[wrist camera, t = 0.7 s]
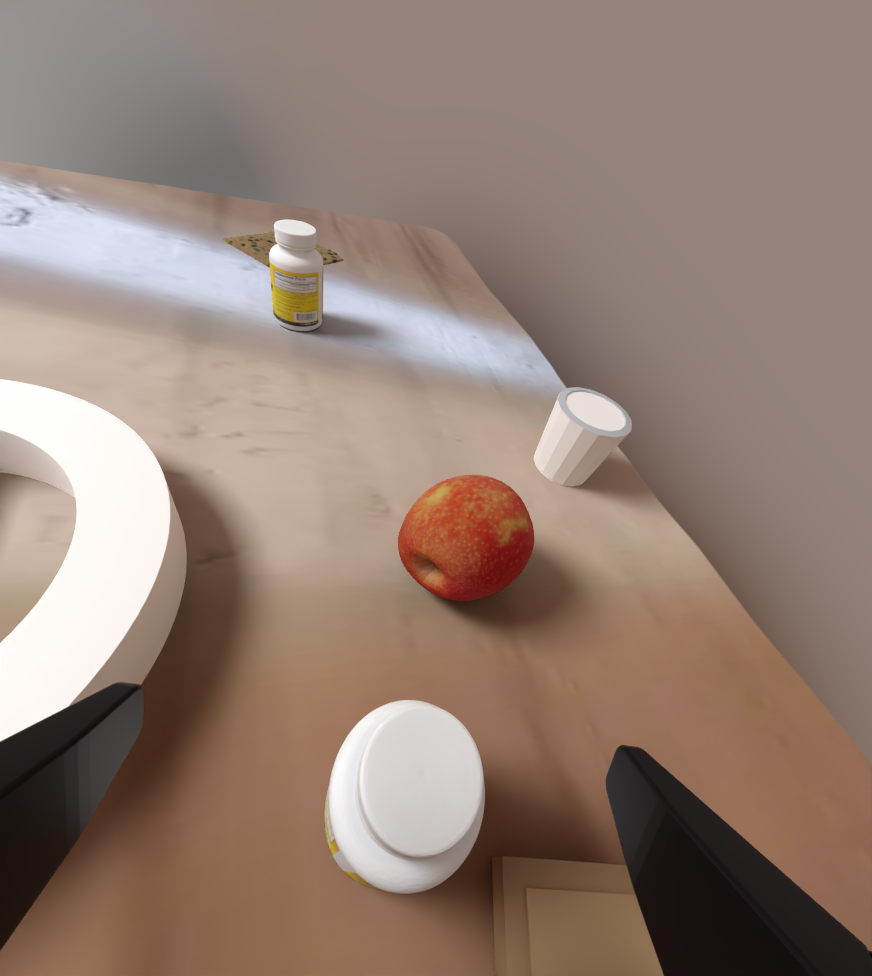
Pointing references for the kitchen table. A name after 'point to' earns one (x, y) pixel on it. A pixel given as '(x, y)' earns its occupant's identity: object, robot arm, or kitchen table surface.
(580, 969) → the walnut base
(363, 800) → the supplement bottle
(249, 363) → the kitchen table surface
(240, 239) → the cookie
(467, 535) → the apple
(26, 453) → the white circle with bar
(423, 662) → the kitchen table surface
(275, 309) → the supplement bottle
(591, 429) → the white cup
